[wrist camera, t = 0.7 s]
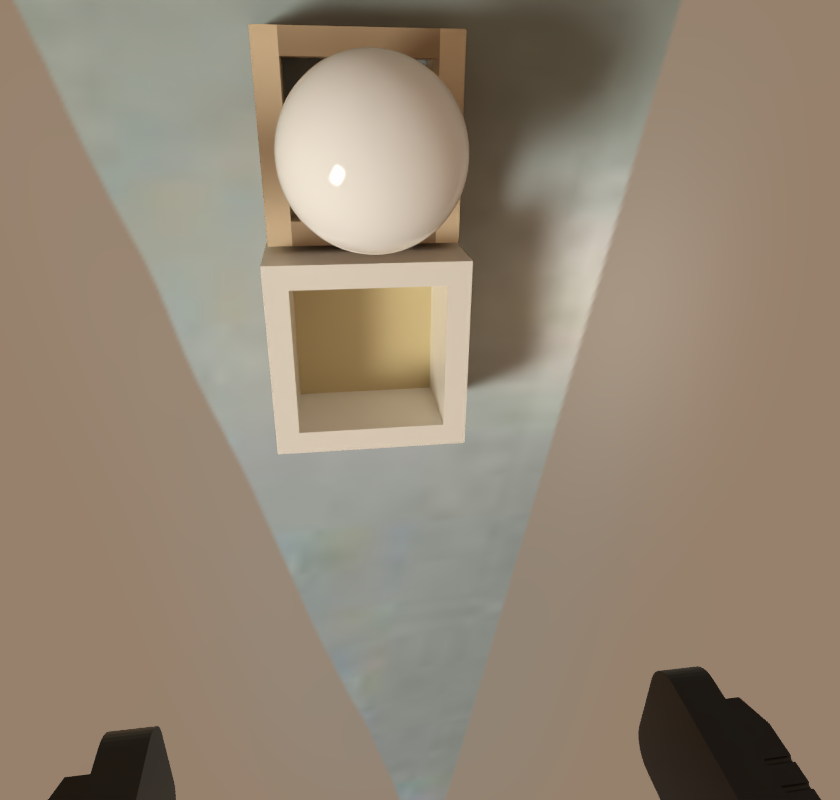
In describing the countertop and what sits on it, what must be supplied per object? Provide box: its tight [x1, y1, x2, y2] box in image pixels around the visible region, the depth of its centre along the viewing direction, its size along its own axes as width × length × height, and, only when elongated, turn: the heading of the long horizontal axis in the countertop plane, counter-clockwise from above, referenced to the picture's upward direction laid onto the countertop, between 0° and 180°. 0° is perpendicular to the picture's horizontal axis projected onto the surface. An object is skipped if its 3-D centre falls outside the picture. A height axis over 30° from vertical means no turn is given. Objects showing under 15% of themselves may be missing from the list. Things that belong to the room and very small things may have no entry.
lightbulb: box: [274, 47, 469, 255], centre depth 24 cm, size 6×6×11 cm
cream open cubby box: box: [260, 243, 473, 454], centre depth 30 cm, size 8×8×5 cm
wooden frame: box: [248, 24, 467, 247], centre depth 28 cm, size 8×8×3 cm
